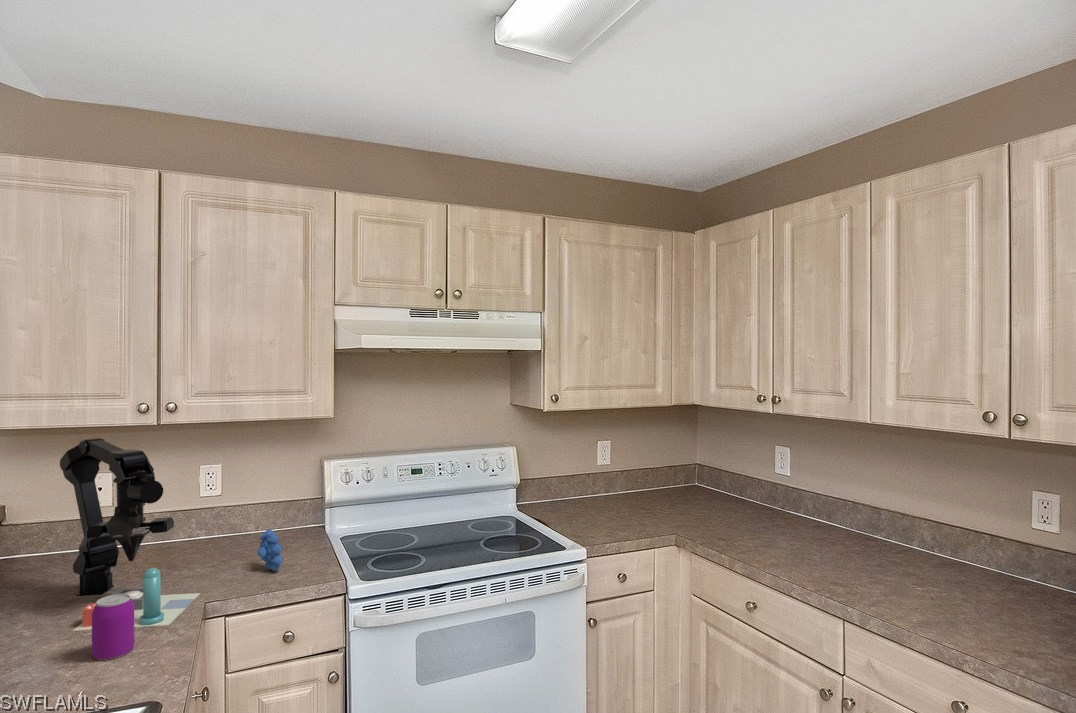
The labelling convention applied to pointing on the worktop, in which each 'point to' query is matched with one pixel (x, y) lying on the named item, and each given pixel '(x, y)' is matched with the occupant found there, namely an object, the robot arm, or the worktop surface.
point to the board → (169, 607)
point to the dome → (134, 594)
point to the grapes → (270, 550)
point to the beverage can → (112, 627)
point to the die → (88, 615)
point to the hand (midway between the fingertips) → (131, 560)
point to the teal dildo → (151, 598)
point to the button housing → (137, 602)
